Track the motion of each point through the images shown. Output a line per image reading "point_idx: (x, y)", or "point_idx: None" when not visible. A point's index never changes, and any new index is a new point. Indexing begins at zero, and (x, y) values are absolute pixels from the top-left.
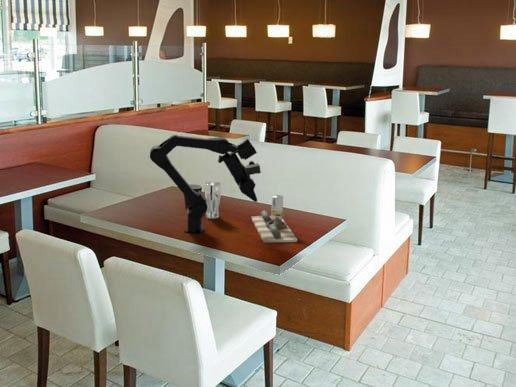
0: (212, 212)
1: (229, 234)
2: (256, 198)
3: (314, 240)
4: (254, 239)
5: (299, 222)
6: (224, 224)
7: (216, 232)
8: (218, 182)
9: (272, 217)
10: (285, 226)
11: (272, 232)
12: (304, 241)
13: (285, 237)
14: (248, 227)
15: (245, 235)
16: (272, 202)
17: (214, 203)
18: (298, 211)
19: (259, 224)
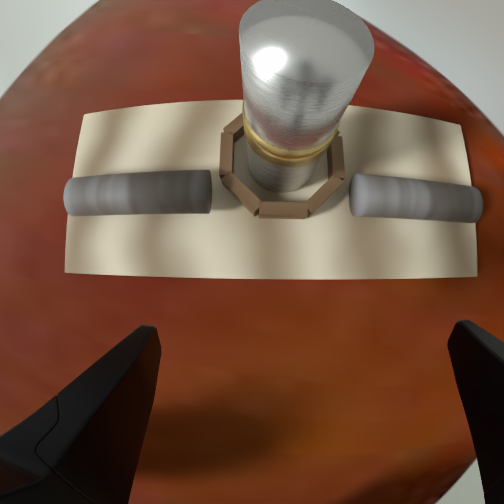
0: None
1: (343, 432)
2: (491, 338)
3: (426, 63)
4: (431, 317)
5: (175, 47)
6: (171, 436)
7: (302, 482)
8: None
9: (306, 168)
10: None
11: (445, 220)
12: (444, 100)
13: (445, 164)
14: (231, 323)
15: (371, 357)
16: (318, 118)
17: None
18: (41, 54)
19: (222, 253)
